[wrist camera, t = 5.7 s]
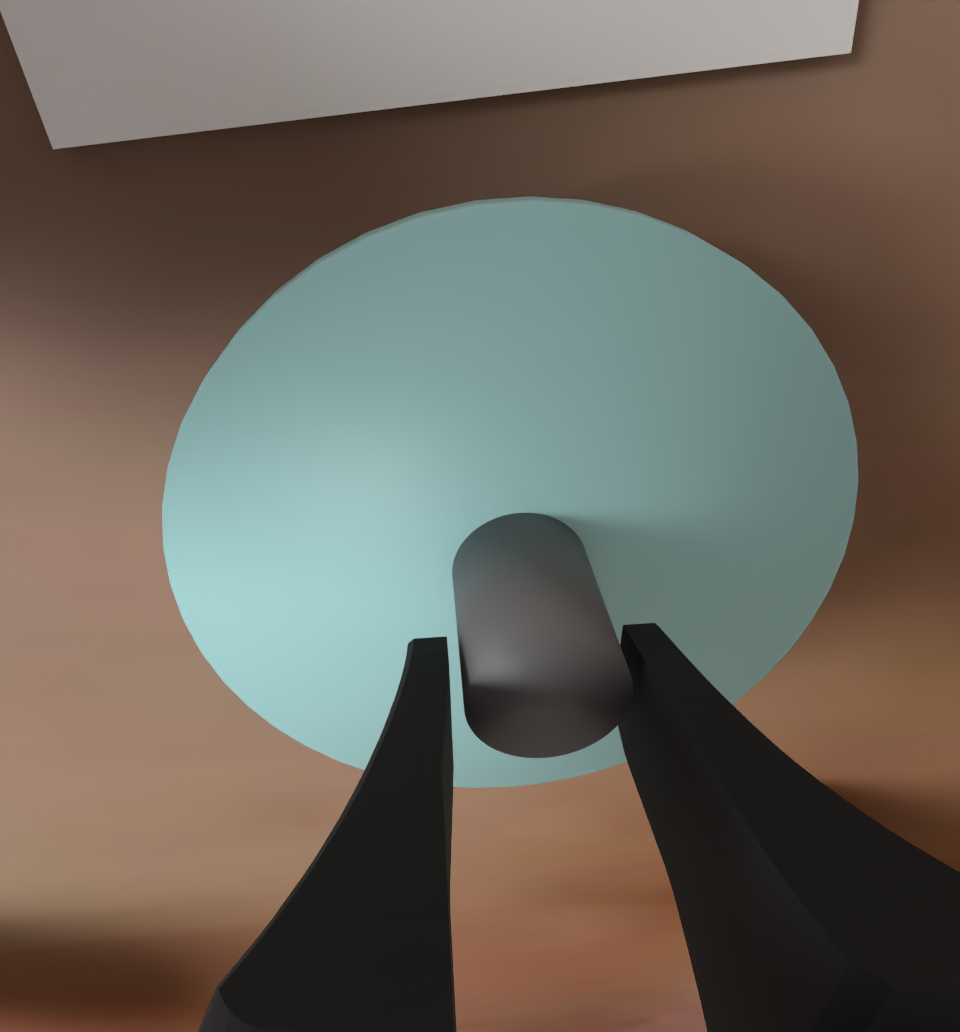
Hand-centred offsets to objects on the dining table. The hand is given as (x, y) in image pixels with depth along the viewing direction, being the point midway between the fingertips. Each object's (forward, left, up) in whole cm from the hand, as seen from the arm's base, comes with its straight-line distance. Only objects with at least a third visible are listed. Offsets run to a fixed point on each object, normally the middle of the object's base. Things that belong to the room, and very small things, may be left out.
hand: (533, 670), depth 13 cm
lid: (0, +1, -3) cm, 3 cm away
